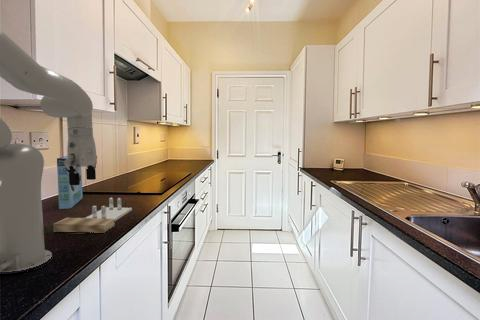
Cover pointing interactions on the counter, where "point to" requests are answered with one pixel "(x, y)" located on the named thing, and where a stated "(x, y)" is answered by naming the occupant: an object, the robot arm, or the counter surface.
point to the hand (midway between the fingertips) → (83, 182)
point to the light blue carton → (67, 186)
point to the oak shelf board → (83, 225)
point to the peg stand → (109, 211)
